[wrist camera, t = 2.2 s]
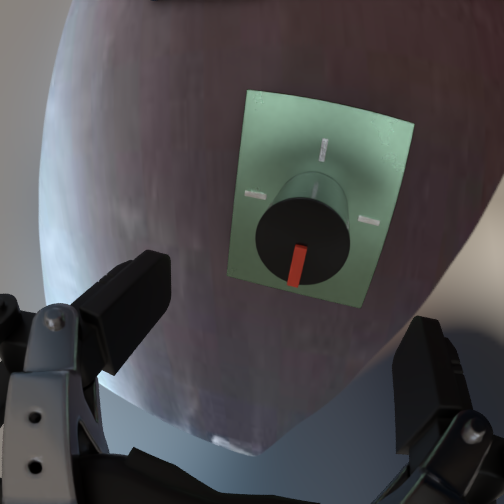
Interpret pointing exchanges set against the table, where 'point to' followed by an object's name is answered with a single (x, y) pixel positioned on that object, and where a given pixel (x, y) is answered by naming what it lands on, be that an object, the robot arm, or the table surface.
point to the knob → (305, 230)
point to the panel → (325, 162)
